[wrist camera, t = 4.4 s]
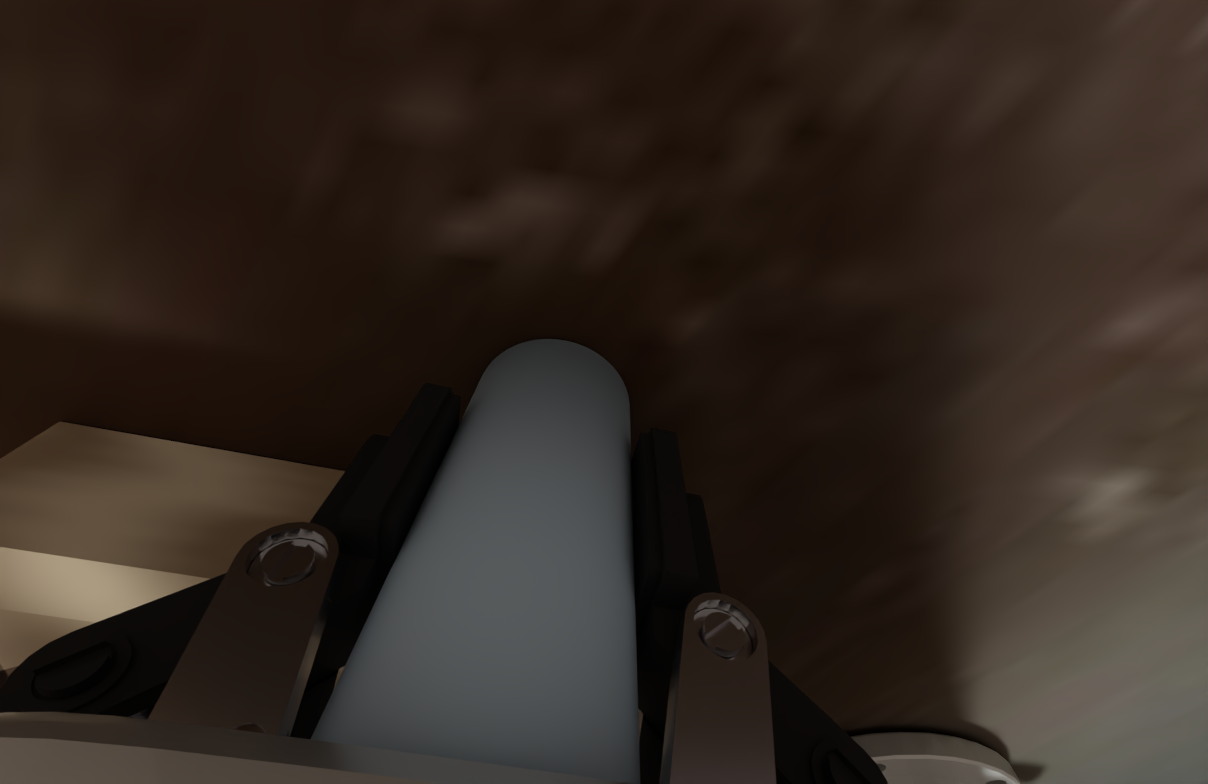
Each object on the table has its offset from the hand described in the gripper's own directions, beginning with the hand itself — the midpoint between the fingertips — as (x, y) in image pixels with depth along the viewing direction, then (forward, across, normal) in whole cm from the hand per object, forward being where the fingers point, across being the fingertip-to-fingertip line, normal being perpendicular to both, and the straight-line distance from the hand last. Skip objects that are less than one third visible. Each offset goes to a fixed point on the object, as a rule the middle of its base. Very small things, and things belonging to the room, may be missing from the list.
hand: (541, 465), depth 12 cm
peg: (+2, 0, 0) cm, 2 cm away
